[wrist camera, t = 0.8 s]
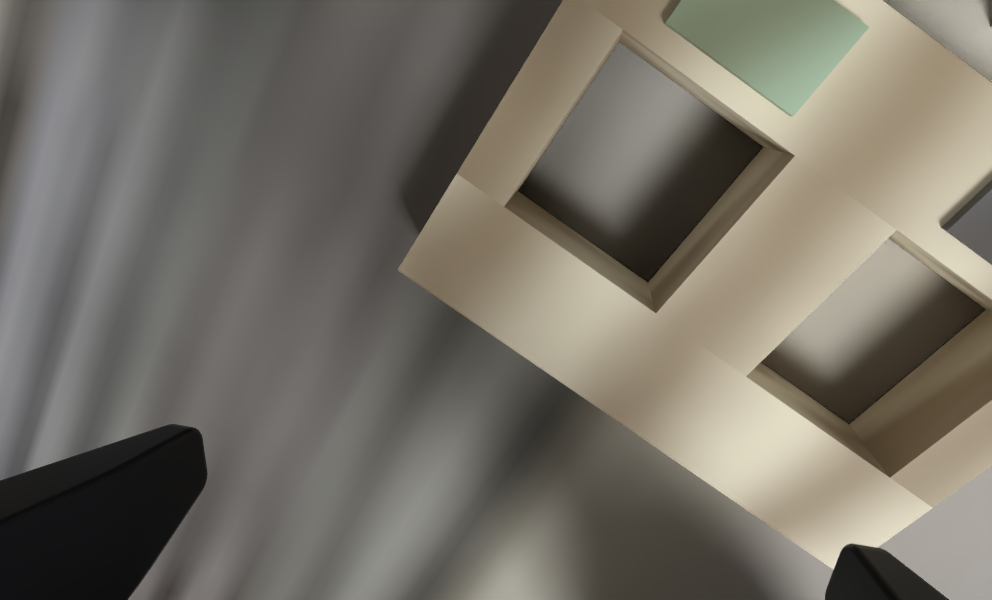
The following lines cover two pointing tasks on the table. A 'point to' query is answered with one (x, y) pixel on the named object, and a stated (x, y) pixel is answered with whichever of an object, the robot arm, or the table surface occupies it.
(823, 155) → the socket block
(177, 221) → the table surface
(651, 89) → the table surface
